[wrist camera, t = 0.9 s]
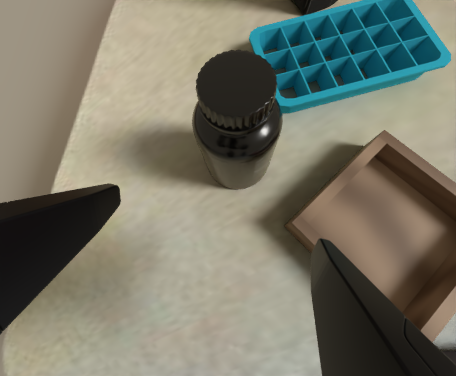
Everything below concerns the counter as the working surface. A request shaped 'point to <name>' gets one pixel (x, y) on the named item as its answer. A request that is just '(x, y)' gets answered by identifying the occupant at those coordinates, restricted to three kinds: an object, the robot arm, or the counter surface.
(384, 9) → the ice cube tray
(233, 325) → the counter surface
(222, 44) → the counter surface
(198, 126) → the supplement bottle
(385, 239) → the holder
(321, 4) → the portable radio
